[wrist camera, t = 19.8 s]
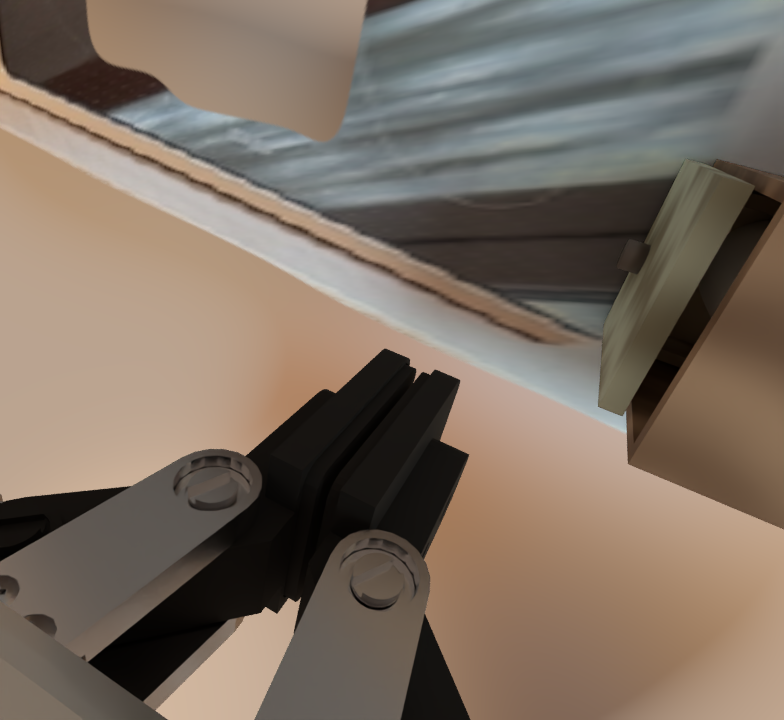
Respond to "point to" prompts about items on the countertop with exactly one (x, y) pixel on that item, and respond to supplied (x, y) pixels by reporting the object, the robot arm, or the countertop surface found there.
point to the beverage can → (729, 263)
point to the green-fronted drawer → (671, 277)
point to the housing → (725, 388)
